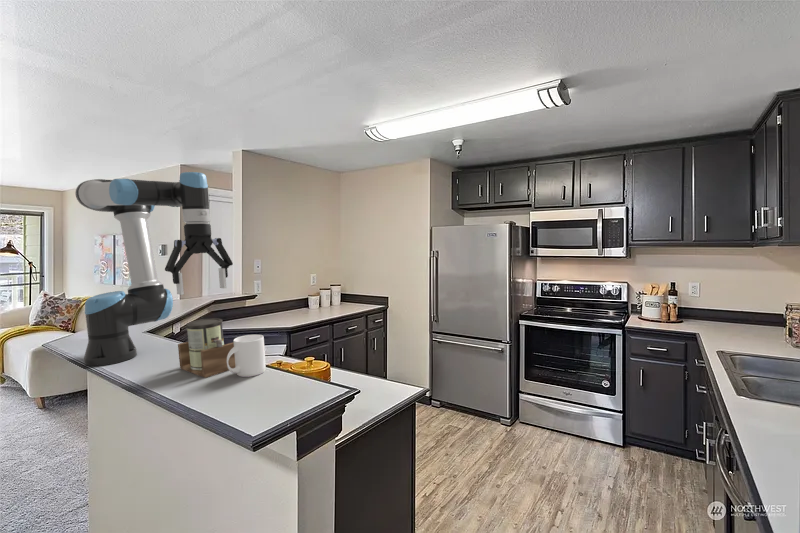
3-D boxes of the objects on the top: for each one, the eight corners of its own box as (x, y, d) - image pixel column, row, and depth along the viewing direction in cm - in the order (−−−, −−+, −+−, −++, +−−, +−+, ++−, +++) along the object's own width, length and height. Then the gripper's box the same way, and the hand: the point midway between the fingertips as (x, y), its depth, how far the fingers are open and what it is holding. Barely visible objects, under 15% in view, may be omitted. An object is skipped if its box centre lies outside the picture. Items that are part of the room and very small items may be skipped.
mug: (219, 378, 120) (216, 342, 119) (254, 366, 130) (252, 333, 129) (236, 383, 115) (233, 346, 114) (271, 370, 125) (269, 336, 124)
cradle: (180, 368, 131) (177, 338, 130) (213, 358, 139) (210, 330, 138) (205, 377, 121) (202, 345, 120) (239, 367, 130) (236, 336, 129)
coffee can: (202, 359, 135) (199, 318, 134) (231, 359, 134) (228, 317, 133) (182, 370, 125) (178, 325, 124) (214, 370, 124) (210, 325, 123)
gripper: (159, 223, 114) (166, 298, 116) (240, 222, 134) (245, 286, 136) (148, 224, 118) (154, 296, 120) (228, 223, 138) (233, 285, 140)
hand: (202, 291), depth 128 cm, fingers open, 13 cm apart
